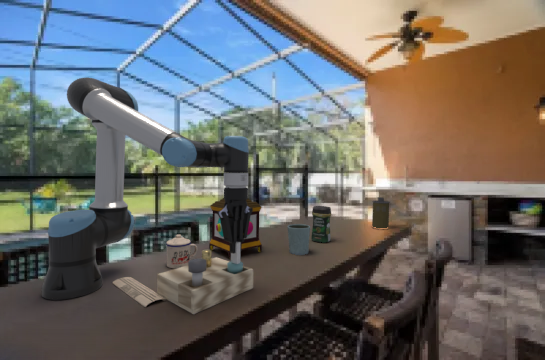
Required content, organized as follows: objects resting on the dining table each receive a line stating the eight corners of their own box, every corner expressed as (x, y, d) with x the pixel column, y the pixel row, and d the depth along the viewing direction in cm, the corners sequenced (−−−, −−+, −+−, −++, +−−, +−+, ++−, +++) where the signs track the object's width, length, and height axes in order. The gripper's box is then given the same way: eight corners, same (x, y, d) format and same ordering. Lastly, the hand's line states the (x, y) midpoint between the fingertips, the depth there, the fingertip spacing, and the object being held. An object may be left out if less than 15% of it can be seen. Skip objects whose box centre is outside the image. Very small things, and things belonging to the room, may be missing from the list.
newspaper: (166, 303, 82) (166, 296, 82) (141, 311, 76) (141, 305, 76) (131, 280, 97) (131, 275, 97) (108, 286, 92) (108, 281, 92)
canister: (371, 229, 185) (372, 197, 185) (371, 226, 195) (372, 196, 194) (390, 230, 182) (391, 198, 181) (389, 227, 192) (389, 197, 191)
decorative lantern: (204, 250, 132) (205, 184, 131) (240, 243, 145) (241, 183, 144) (229, 261, 117) (229, 187, 116) (266, 252, 130) (267, 185, 129)
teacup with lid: (170, 270, 105) (170, 238, 105) (162, 263, 112) (162, 234, 112) (201, 264, 112) (201, 234, 112) (192, 258, 120) (192, 230, 119)
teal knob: (234, 288, 87) (234, 267, 87) (224, 283, 90) (224, 263, 90) (245, 283, 91) (246, 263, 90) (235, 279, 94) (235, 259, 93)
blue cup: (313, 254, 128) (314, 227, 127) (293, 256, 124) (293, 228, 124) (303, 248, 137) (303, 223, 137) (283, 250, 134) (283, 224, 133)
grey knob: (195, 289, 76) (195, 265, 76) (184, 284, 79) (184, 261, 79) (209, 284, 80) (210, 261, 79) (199, 279, 83) (199, 257, 83)
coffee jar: (309, 241, 152) (309, 205, 151) (316, 238, 158) (317, 204, 157) (325, 244, 146) (326, 207, 145) (332, 241, 152) (333, 206, 151)
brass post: (205, 268, 91) (205, 252, 91) (199, 266, 93) (200, 250, 92) (213, 266, 93) (213, 250, 93) (207, 263, 95) (207, 248, 95)
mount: (193, 314, 74) (193, 291, 74) (157, 294, 86) (157, 274, 85) (253, 288, 91) (253, 269, 91) (216, 274, 102) (216, 257, 102)
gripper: (228, 188, 82) (227, 271, 83) (259, 186, 92) (258, 260, 93) (211, 187, 87) (211, 265, 87) (242, 185, 97) (242, 255, 97)
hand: (235, 262), depth 90 cm, fingers closed
